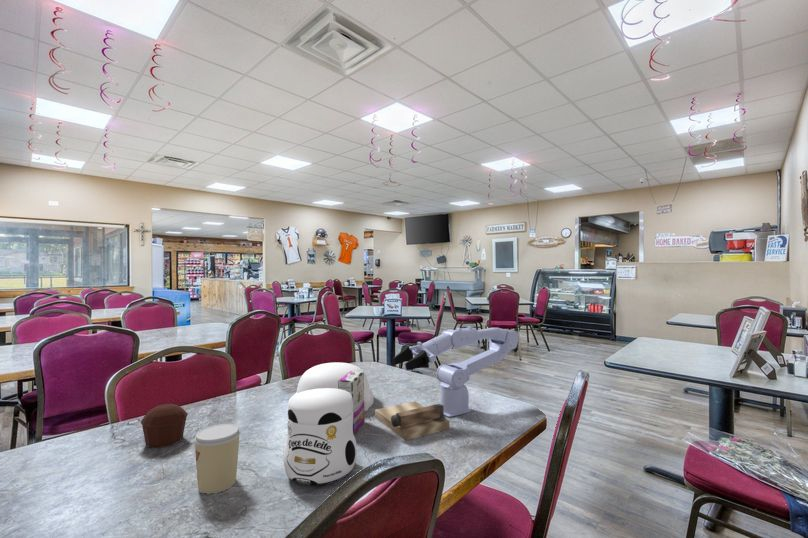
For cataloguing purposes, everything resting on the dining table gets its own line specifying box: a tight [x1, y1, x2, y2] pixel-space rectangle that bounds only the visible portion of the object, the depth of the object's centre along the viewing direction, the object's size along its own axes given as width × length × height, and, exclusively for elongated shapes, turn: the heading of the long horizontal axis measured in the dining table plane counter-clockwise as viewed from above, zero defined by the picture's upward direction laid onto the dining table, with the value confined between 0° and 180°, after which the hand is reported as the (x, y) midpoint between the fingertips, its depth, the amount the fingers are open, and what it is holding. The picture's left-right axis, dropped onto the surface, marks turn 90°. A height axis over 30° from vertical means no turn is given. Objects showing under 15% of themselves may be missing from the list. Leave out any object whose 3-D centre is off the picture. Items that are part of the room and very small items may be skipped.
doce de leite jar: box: [282, 388, 358, 487], centre depth 88 cm, size 17×17×18 cm
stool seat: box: [374, 401, 450, 441], centre depth 117 cm, size 16×20×3 cm
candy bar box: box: [338, 370, 365, 435], centre depth 113 cm, size 11×5×16 cm, turn 168°
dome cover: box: [293, 361, 374, 412], centre depth 137 cm, size 32×30×14 cm
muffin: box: [140, 403, 189, 449], centre depth 105 cm, size 12×11×10 cm
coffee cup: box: [193, 423, 241, 495], centre depth 83 cm, size 9×9×12 cm
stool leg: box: [391, 403, 445, 427], centre depth 111 cm, size 18×3×3 cm, turn 120°
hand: (399, 364), depth 116 cm, fingers open, 7 cm apart
